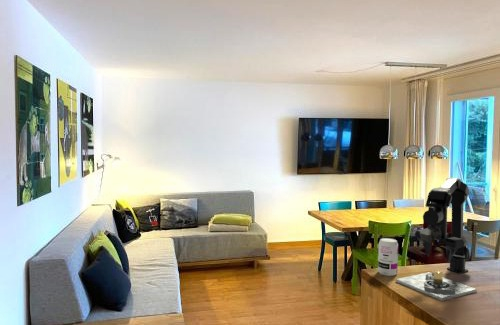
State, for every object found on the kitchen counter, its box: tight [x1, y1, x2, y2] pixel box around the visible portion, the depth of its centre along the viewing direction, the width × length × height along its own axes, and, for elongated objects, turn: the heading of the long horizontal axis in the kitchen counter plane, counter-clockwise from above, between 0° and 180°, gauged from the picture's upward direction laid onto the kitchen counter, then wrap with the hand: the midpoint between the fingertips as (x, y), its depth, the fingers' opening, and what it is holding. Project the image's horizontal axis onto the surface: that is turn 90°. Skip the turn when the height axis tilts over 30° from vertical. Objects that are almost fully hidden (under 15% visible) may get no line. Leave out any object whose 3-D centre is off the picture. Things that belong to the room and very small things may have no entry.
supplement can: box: [377, 237, 399, 277], centre depth 177 cm, size 8×8×15 cm
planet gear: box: [429, 270, 447, 288], centre depth 157 cm, size 6×6×6 cm
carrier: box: [395, 271, 478, 302], centre depth 161 cm, size 20×22×4 cm
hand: (437, 259), depth 159 cm, fingers open, 9 cm apart
